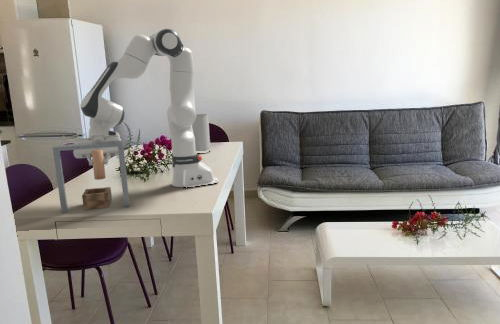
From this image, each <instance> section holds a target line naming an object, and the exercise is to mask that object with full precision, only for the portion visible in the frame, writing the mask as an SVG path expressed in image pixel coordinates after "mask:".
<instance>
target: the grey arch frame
mask: <svg viewBox="0 0 500 324" xmlns="http://www.w3.org/2000/svg"><path fill="white" fill-rule="evenodd" d="M124 145H125V141H124V140H122V139H121V141H108V142H95V143H81V144H74V143H72V144H71V143H70V144H56V145H54V146H53V147H52V152H53V153H52V154H53V160H54V168H55V175H56V180H57V181H56V182H57V188H58V196H59V197H58V198H59V202H60V203H59V204H60V210H61V214H68V213H69V208H68V200H67V194H66V186H65V185H66V184H65V177H64V173H63V172H64V171H63V164H62V157H61V151H74V150H78V149H92V148H105V147H118V153H119V156H118V159H119V170H120V180H121V187H122V197H123V207H124V208H128V207H129V208H130V206H131V203H130V195H129V194H130V193H129V187H128V185H129V184H128V175H127V168H126V166H127V165H126V158H125V148H124V147H125V146H124Z"/></svg>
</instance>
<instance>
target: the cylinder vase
mask: <svg viewBox="0 0 500 324" xmlns="http://www.w3.org/2000/svg"><path fill="white" fill-rule="evenodd" d="M209 120H210V119H209V114H208V113H207V114H206V113H196V120H195V122H194V123H193V124H192V129H193V133H194V137H195V148H196V151H206V150H210V151H211V139H210V138H211V137H210V125H209V124H210V123H209Z"/></svg>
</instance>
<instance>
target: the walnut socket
mask: <svg viewBox="0 0 500 324" xmlns="http://www.w3.org/2000/svg"><path fill="white" fill-rule="evenodd" d="M81 198H82V205H83V210H85V211H86V210H87V211H88V210H96V209H104V208H110V207H111V205H112V201H113V197H112V189H111V186H106V187H96V188H86V189H85V190H84V192H83V193H82V195H81Z"/></svg>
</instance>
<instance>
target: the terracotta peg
mask: <svg viewBox="0 0 500 324" xmlns="http://www.w3.org/2000/svg"><path fill="white" fill-rule="evenodd" d="M104 159H105V158H104V156H103V150H93V151H92V157H91V160H93V165H92V167H93V168H92V169H93V177H94V180H96V181H97V180H104V179H106V168H105V167H106V166H105V164H104Z"/></svg>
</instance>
